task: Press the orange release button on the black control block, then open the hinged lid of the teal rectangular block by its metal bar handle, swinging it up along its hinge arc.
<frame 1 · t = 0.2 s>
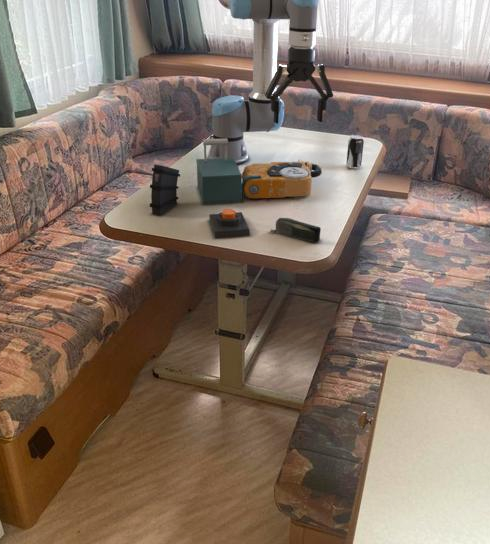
hand: (297, 121, 173), 28 cm above the table, tool pointing down, fingers open, 13 cm apart
control block: (228, 228, 172), on the table
teal rectangular block: (219, 194, 194), on the table
start button: (228, 214, 170), point 4 cm above the table, slide at 0.1 cm
machine lid: (218, 156, 188), point 13 cm above the table, hinge at 0.0°
magazine: (166, 208, 183), on the table
beverage can: (353, 167, 222), on the table
device: (282, 188, 201), on the table
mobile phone: (294, 237, 169), on the table
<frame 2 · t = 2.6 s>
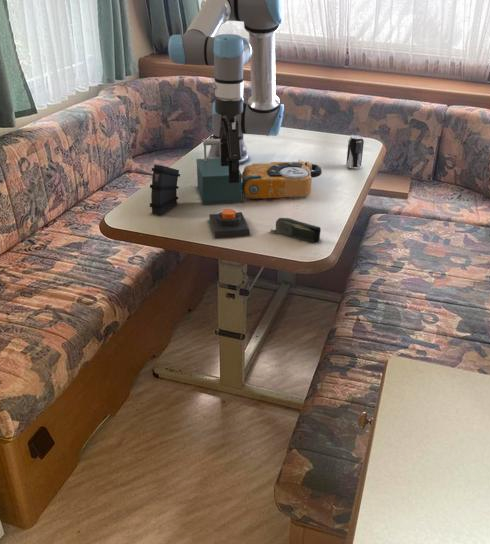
hand: (229, 173, 164), 17 cm above the table, tool pointing down, fingers open, 13 cm apart
nothing on the table moved.
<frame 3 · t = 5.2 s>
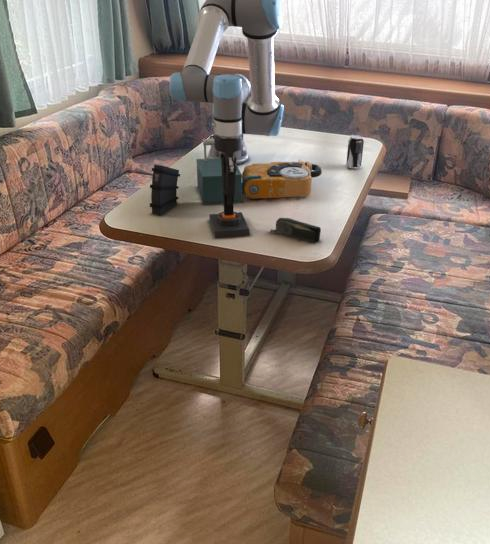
hand: (228, 213, 169), 5 cm above the table, tool pointing down, fingers closed
start button: (228, 217, 170), point 4 cm above the table, slide at -0.7 cm, touching gripper
everything else where it was.
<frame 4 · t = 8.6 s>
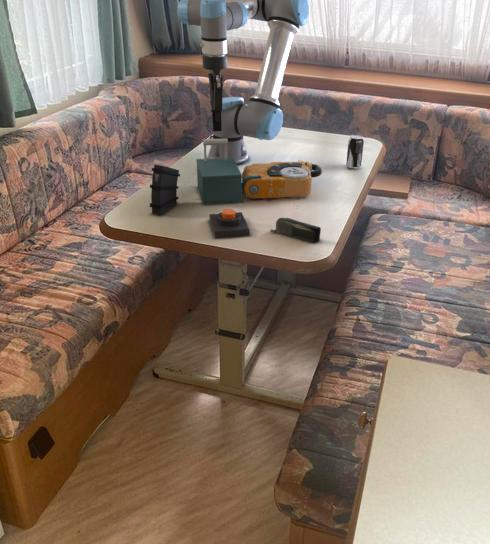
hand: (217, 130, 187), 20 cm above the table, tool pointing down, fingers closed
start button: (228, 214, 170), point 4 cm above the table, slide at 0.1 cm
everything else where it was.
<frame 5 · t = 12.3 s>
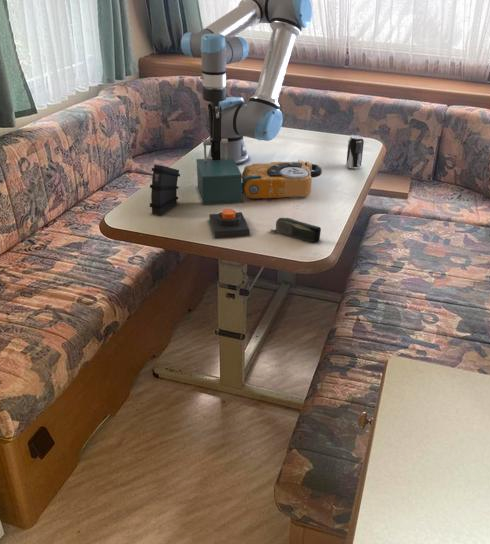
hand: (215, 158, 194), 10 cm above the table, tool pointing down, fingers closed on machine lid, 2 cm apart
machine lid: (218, 156, 188), point 13 cm above the table, hinge at 0.0°, touching gripper
everything else where it was.
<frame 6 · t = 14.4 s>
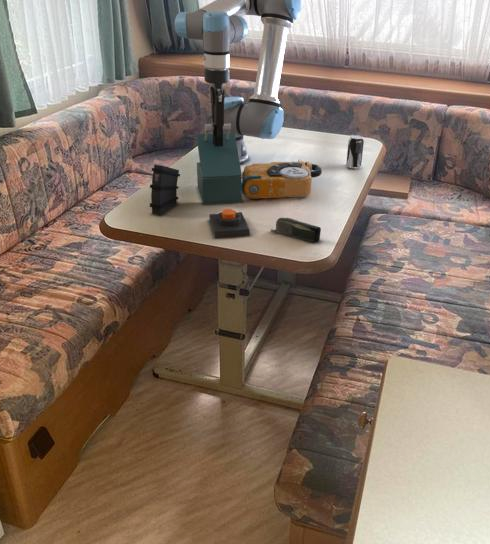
hand: (218, 144, 185), 17 cm above the table, tool pointing down, fingers closed on machine lid, 2 cm apart
machine lid: (219, 148, 182), point 17 cm above the table, hinge at 36.0°, touching gripper
everything else where it was.
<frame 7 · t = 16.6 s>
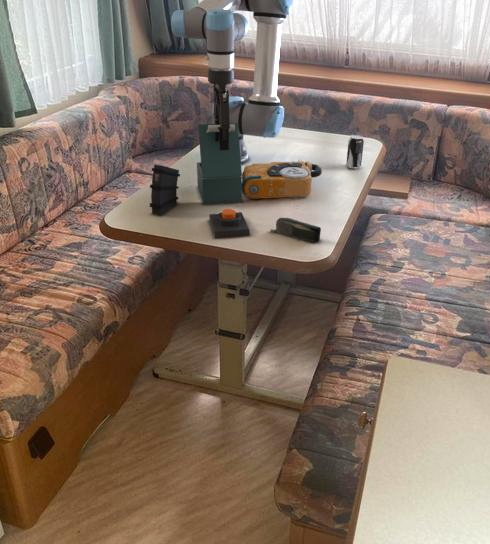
hand: (221, 145, 177), 20 cm above the table, tool pointing down, fingers open, 8 cm apart
machine lid: (221, 148, 178), point 18 cm above the table, hinge at 63.8°
everything else where it was.
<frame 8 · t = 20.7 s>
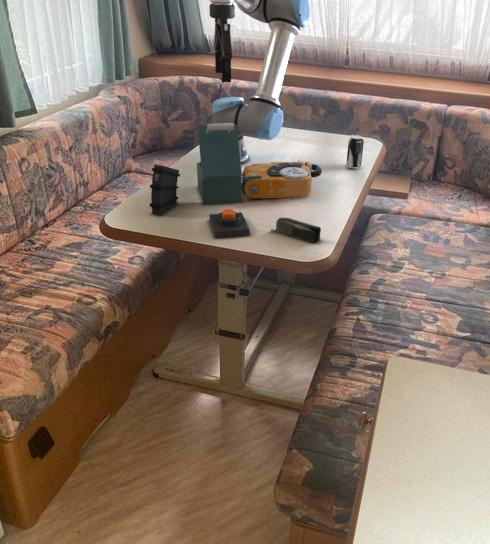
hand: (223, 77, 182), 37 cm above the table, tool pointing down, fingers open, 13 cm apart
machine lid: (221, 148, 179), point 18 cm above the table, hinge at 57.7°
everything else where it was.
at the end: start button pushed in 1.1 cm at the most during the clip, back to where it started at the end; start button slide at 0.1 cm; machine lid at +58° (first picture: +0°) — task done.
